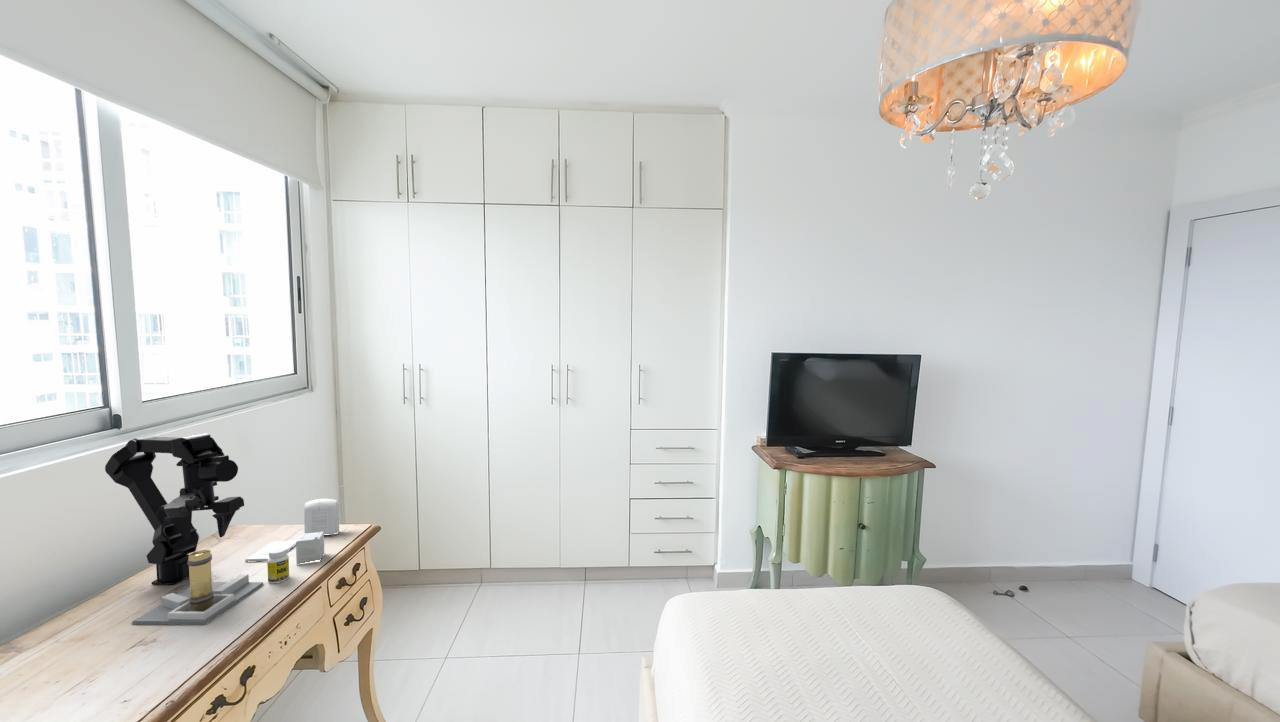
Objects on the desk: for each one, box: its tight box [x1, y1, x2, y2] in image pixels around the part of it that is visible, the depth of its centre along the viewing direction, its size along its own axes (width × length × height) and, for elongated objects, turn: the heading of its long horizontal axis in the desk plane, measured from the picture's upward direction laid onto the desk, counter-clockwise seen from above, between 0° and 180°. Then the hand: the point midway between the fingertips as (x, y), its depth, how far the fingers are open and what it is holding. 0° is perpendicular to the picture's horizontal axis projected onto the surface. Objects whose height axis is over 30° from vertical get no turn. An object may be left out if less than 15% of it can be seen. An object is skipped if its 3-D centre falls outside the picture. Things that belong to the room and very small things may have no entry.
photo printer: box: [303, 498, 340, 534], centre depth 166 cm, size 10×4×12 cm, turn 103°
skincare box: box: [295, 532, 325, 565], centre depth 148 cm, size 6×6×7 cm
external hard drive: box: [244, 540, 297, 563], centre depth 153 cm, size 2×8×12 cm
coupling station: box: [131, 573, 264, 626], centre depth 124 cm, size 17×18×3 cm
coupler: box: [188, 549, 214, 612], centre depth 120 cm, size 4×4×14 cm
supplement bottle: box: [266, 547, 290, 584], centre depth 136 cm, size 5×5×8 cm
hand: (204, 538), depth 133 cm, fingers open, 9 cm apart
